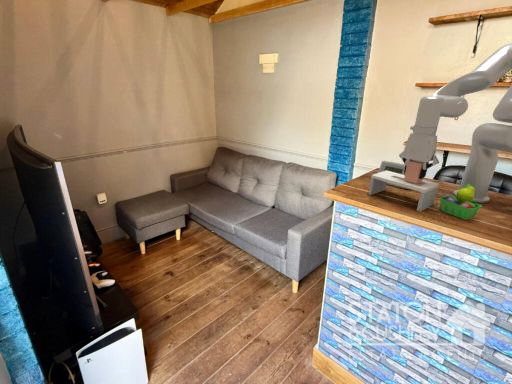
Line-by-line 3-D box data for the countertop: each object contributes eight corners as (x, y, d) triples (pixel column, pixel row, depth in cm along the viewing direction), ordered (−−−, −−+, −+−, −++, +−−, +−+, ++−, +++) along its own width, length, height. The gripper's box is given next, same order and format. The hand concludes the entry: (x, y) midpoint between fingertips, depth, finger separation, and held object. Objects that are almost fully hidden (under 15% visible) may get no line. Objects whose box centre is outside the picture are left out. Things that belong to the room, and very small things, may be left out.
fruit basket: (435, 209, 107) (442, 182, 102) (449, 206, 110) (457, 179, 106) (466, 222, 97) (475, 192, 93) (480, 217, 100) (491, 189, 96)
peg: (407, 185, 114) (413, 159, 110) (420, 188, 110) (427, 162, 106) (402, 187, 111) (407, 161, 107) (414, 191, 108) (421, 163, 104)
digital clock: (373, 181, 138) (377, 161, 134) (384, 178, 142) (388, 158, 138) (403, 191, 125) (408, 169, 121) (414, 188, 129) (420, 166, 125)
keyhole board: (382, 188, 127) (386, 170, 124) (433, 204, 111) (439, 183, 108) (368, 194, 121) (371, 174, 118) (419, 211, 104) (425, 189, 101)
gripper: (397, 128, 107) (388, 172, 113) (445, 135, 94) (432, 184, 101) (406, 127, 111) (397, 170, 118) (454, 133, 98) (441, 180, 105)
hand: (414, 176), depth 109 cm, fingers closed on peg, 5 cm apart
